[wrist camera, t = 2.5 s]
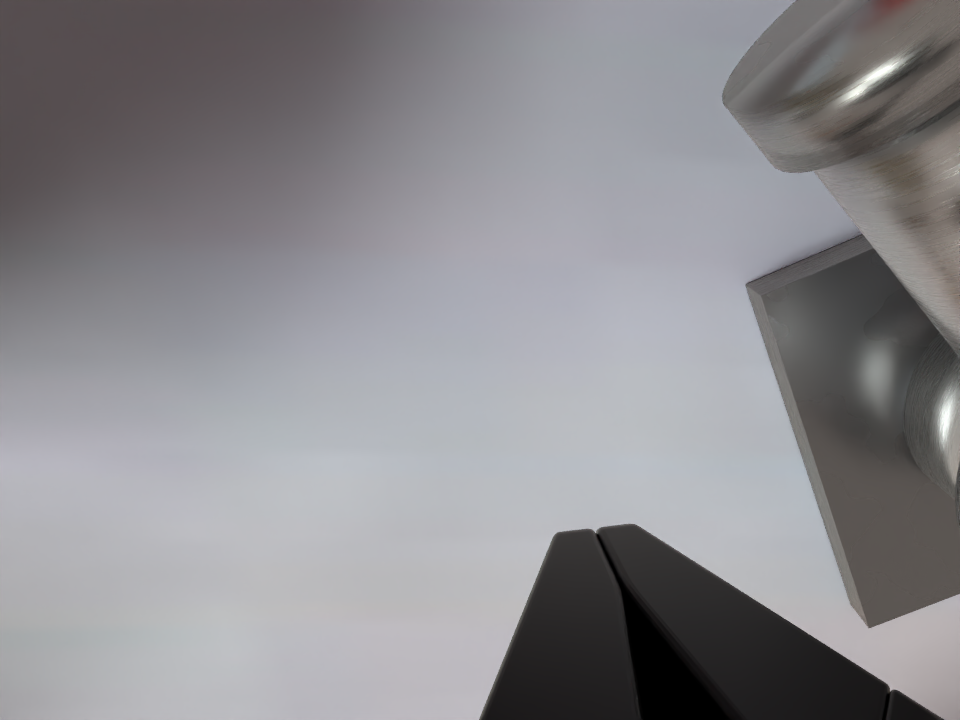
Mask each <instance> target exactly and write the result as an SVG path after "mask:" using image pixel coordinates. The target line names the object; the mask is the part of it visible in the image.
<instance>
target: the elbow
mask: <svg viewBox="0 0 960 720" xmlns="http://www.w3.org/2000/svg"><path fill="white" fill-rule="evenodd" d="M722 100H723V104H724V105H725V107H726V108H727V109H728V110H729V112H730V113H731V114H732V115H733V117H734V118H735V119H736V120H737V122H738V123H739V124H740V125H741V127H742V128H743V129H744V130H745V132H746V133H747V134H748V135H749V137H750V138H751V139H752V140H753V142H754V143H755V144H756V145H757V147H758V148H759V149H760V150H761V152H762V153H763V154H764V155H765V157H766V158H767V159H768V160H769V162H770V163H771V164H772V165H773V166H774V167H775V168H776V169H778V170H780V171H783V172H789V173H802V172H808V171H814V173H815V174H816V175H817V176H818V178H819V179H820V180H821V182H822V183H823V184H824V185H825V187H826V188H827V189H828V190H829V192H830V193H831V194H832V196H833V197H834V198H835V199H836V201H837V202H838V203H839V205H840V206H841V207H842V208H843V210H844V211H845V212H846V213H847V215H848V216H849V217H850V219H851V220H852V221H853V222H854V224H855V225H856V226H857V228H858V229H859V230H860V231H861V233H862V234H863V235H864V236H865V238H866V239H867V240H868V242H869V243H870V244H871V245H872V247H873V248H874V249H875V251H876V252H877V253H878V254H879V256H880V257H881V258H882V259H883V261H884V262H885V263H886V265H887V266H888V267H889V268H890V270H891V271H892V272H893V274H894V275H895V276H896V277H897V279H898V280H899V281H900V282H901V284H902V285H903V286H904V288H905V289H906V290H907V291H908V293H909V294H910V295H911V297H912V298H913V299H914V300H915V302H916V303H917V304H918V305H919V307H920V308H921V309H922V311H923V312H924V313H925V314H926V316H927V317H928V318H929V320H930V321H931V322H932V323H933V325H934V326H935V327H936V328H937V330H938V331H939V332H940V334H941V335H942V336H943V337H944V339H945V340H946V341H947V343H948V344H949V345H950V346H951V348H952V349H953V350H954V351H955V353H956V354H957V355H958V357H959V358H960V0H796V1H795V2H794V3H793V4H792V5H791V6H790V7H789V8H788V9H787V10H786V11H785V12H784V13H783V14H782V15H781V16H779V17H778V18H777V19H776V21H775V22H774V23H773V24H772V25H771V26H770V27H769V28H768V29H767V30H766V31H765V32H764V33H763V34H762V35H761V36H760V37H759V39H758V40H757V41H756V42H755V43H754V44H753V45H752V47H751V48H750V49H749V50H748V51H747V53H746V54H745V55H744V56H743V58H742V59H741V60H740V62H739V63H738V64H737V66H736V67H735V69H734V70H733V72H732V74H731V75H730V77H729V79H728V81H727V83H726V85H725V88H724V90H723V95H722ZM955 509H956V517H957V524H958V527H959V531H960V461H959V466H958V472H957V477H956V484H955Z"/></svg>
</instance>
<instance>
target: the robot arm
mask: <svg viewBox="0 0 960 720" xmlns="http://www.w3.org/2000/svg"><path fill="white" fill-rule="evenodd" d="M479 720H944V719H942V718H941V717H939V716H937V715H936V714H934V713H932V712H931V711H929V710H928V709H926V708H925V707H923V706H921V705H920V704H918V703H917V702H915V701H914V700H912V699H910V698H909V697H907V696H906V695H904V694H903V693H901V692H899V691H898V690H892V691H890V688H889V686H888V685H887V684H886V683H885V682H883V681H882V680H880V679H878V678H877V677H875V676H874V675H872V674H871V673H869V672H867V671H866V670H864V669H863V668H861V667H859V666H858V665H856V664H855V663H853V662H852V661H850V660H848V659H847V658H845V657H844V656H842V655H841V654H839V653H837V652H836V651H834V650H833V649H831V648H830V647H828V646H826V645H825V644H823V643H822V642H820V641H819V640H817V639H815V638H814V637H812V636H811V635H809V634H808V633H806V632H804V631H803V630H801V629H800V628H798V627H797V626H795V625H793V624H792V623H790V622H789V621H787V620H786V619H784V618H782V617H781V616H779V615H778V614H776V613H775V612H773V611H771V610H770V609H768V608H767V607H765V606H764V605H762V604H760V603H759V602H757V601H756V600H754V599H753V598H751V597H749V596H748V595H746V594H745V593H743V592H741V591H740V590H738V589H737V588H735V587H734V586H732V585H730V584H729V583H727V582H726V581H724V580H723V579H721V578H719V577H718V576H716V575H715V574H713V573H712V572H710V571H708V570H707V569H705V568H704V567H702V566H701V565H699V564H697V563H696V562H694V561H693V560H691V559H690V558H688V557H686V556H685V555H683V554H682V553H680V552H679V551H677V550H675V549H674V548H672V547H671V546H669V545H668V544H666V543H664V542H663V541H661V540H660V539H658V538H657V537H655V536H653V535H652V534H650V533H649V532H647V531H646V530H644V529H642V528H641V527H639V526H637V525H635V524H624V525H615V526H607V527H601V528H599V529H598V530H597V531H596V533H595V532H594V531H593V530H591V529H581V530H572V531H564V532H558V533H556V534H555V535H554V537H553V539H552V541H551V544H550V546H549V549H548V551H547V553H546V556H545V558H544V561H543V563H542V566H541V568H540V571H539V573H538V576H537V578H536V581H535V583H534V586H533V588H532V590H531V593H530V595H529V598H528V600H527V603H526V605H525V608H524V610H523V613H522V615H521V618H520V620H519V623H518V625H517V627H516V630H515V632H514V635H513V637H512V640H511V642H510V645H509V647H508V650H507V652H506V655H505V657H504V659H503V662H502V664H501V667H500V669H499V672H498V674H497V677H496V679H495V682H494V684H493V687H492V689H491V692H490V694H489V696H488V699H487V701H486V704H485V706H484V709H483V711H482V714H481V716H480V719H479Z"/></svg>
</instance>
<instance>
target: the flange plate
mask: <svg viewBox="0 0 960 720" xmlns="http://www.w3.org/2000/svg"><path fill="white" fill-rule="evenodd" d="M746 288H747V291H748V294H749V297H750V300H751V303H752V307H753V310H754V313H755V316H756V319H757V322H758V325H759V328H760V331H761V334H762V337H763V340H764V343H765V346H766V349H767V352H768V355H769V358H770V361H771V364H772V367H773V370H774V373H775V376H776V379H777V382H778V385H779V388H780V391H781V394H782V397H783V400H784V404H785V407H786V410H787V413H788V416H789V419H790V422H791V425H792V428H793V431H794V434H795V437H796V440H797V443H798V446H799V449H800V452H801V455H802V458H803V461H804V464H805V467H806V470H807V473H808V476H809V479H810V482H811V485H812V488H813V491H814V494H815V497H816V501H817V504H818V507H819V510H820V513H821V516H822V519H823V522H824V525H825V528H826V531H827V534H828V537H829V540H830V543H831V546H832V549H833V552H834V555H835V558H836V561H837V564H838V567H839V570H840V573H841V576H842V579H843V582H844V585H845V588H846V591H847V595H848V598H849V601H850V604H851V606H852V607H853V608H854V610H855V611H856V612H857V613H858V615H859V616H860V617H861V619H862V620H863V621H864V622H865V624H866V625H867V626H868V628H871V627H874V626H876V625H879V624H882V623H884V622H887V621H889V620H892V619H895V618H897V617H900V616H903V615H905V614H908V613H910V612H913V611H916V610H918V609H921V608H923V607H926V606H929V605H931V604H934V603H937V602H939V601H942V600H944V599H947V598H950V597H952V596H955V595H958V594H960V531H959V527H958V524H957V517H956V509H955V484H956V477H957V472H958V466H959V461H960V358H959V357H958V355H957V354H956V353H955V351H954V350H953V349H952V348H951V346H950V345H949V344H948V343H947V341H946V340H945V339H944V337H943V336H942V335H941V334H940V332H939V331H938V330H937V328H936V327H935V326H934V325H933V323H932V322H931V321H930V320H929V318H928V317H927V316H926V314H925V313H924V312H923V311H922V309H921V308H920V307H919V305H918V304H917V303H916V302H915V300H914V299H913V298H912V297H911V295H910V294H909V293H908V291H907V290H906V289H905V288H904V286H903V285H902V284H901V282H900V281H899V280H898V279H897V277H896V276H895V275H894V274H893V272H892V271H891V270H890V268H889V267H888V266H887V265H886V263H885V262H884V261H883V259H882V258H881V257H880V256H879V254H878V253H877V252H876V251H875V249H874V248H873V247H872V245H871V244H870V243H869V242H868V240H867V239H866V238H865V236H864V235H861V236H858V237H856V238H854V239H851V240H849V241H847V242H844V243H842V244H840V245H837V246H835V247H833V248H830V249H828V250H826V251H823V252H821V253H819V254H816V255H814V256H811V257H809V258H807V259H804V260H802V261H800V262H797V263H795V264H793V265H790V266H788V267H786V268H783V269H781V270H779V271H776V272H774V273H772V274H769V275H767V276H764V277H762V278H760V279H757V280H755V281H753V282H750V283H748V284H746Z"/></svg>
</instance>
